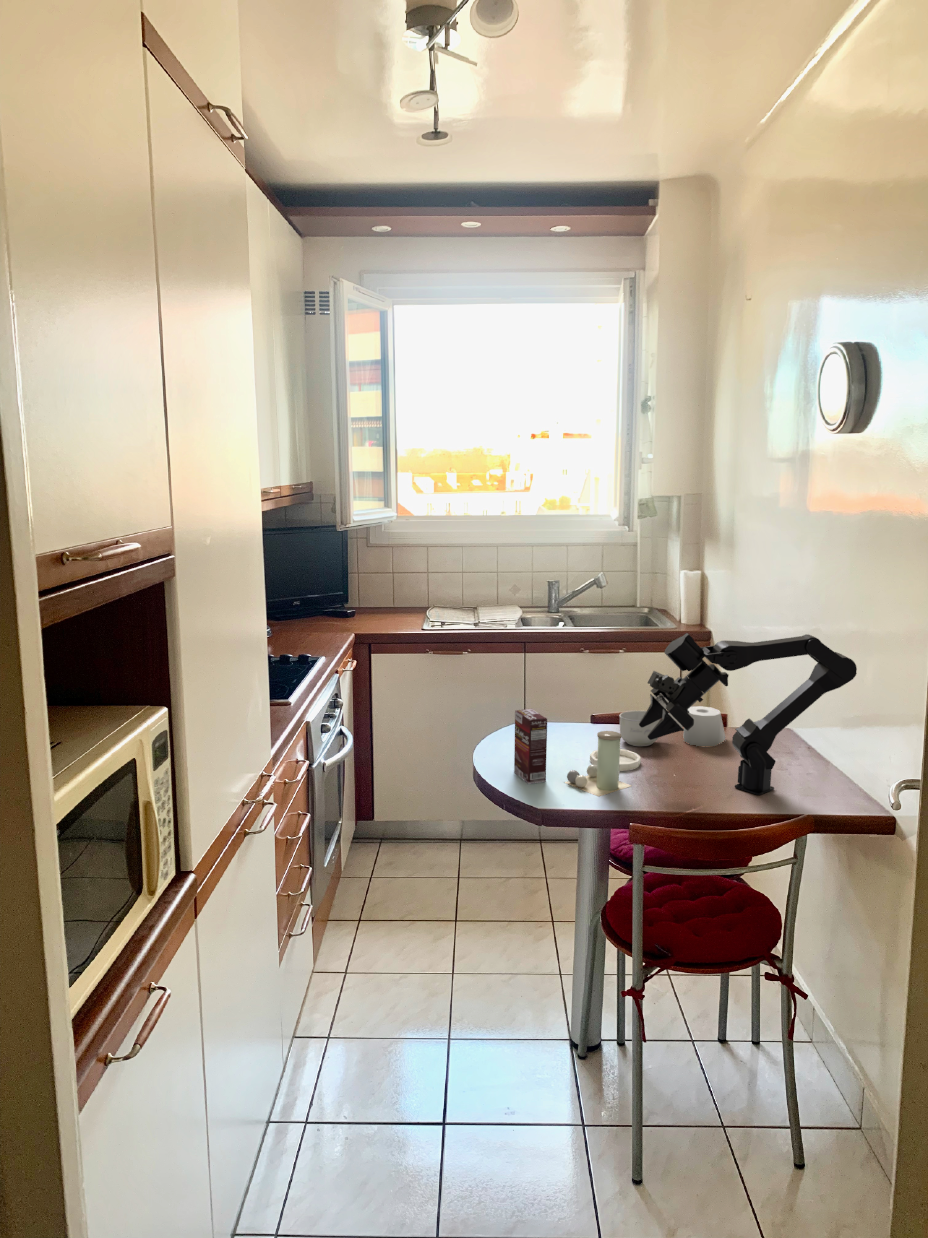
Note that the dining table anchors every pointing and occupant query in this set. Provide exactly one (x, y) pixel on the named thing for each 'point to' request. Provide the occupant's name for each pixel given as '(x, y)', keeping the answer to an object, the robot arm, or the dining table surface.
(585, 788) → the board
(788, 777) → the dining table surface
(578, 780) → the pebble
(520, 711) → the supplement box
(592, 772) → the glossy white ball
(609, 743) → the pale green lidded canister
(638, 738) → the teacup
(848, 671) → the robot arm
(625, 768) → the round white tray
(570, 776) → the pebble
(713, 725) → the toilet tissue
